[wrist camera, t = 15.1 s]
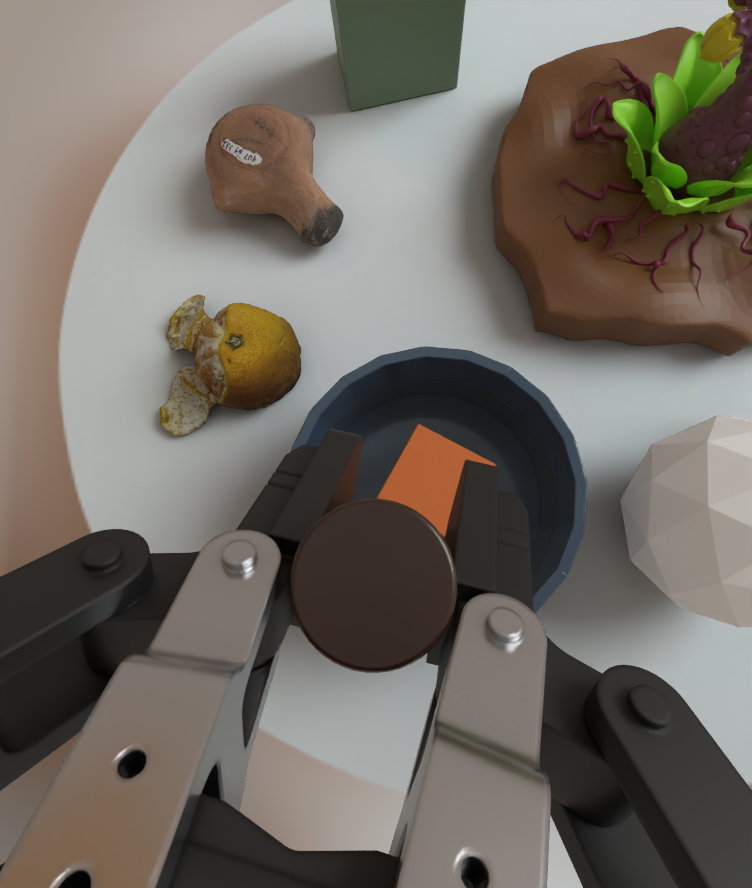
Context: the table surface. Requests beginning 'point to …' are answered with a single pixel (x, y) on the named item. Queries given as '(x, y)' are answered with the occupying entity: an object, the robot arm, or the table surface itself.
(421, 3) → the stand
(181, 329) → the fruit
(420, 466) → the block
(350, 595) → the brown cylindrical peg
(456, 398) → the bowl
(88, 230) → the table surface
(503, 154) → the plant
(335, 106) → the table surface
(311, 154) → the oil lamp
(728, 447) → the perfume bottle
